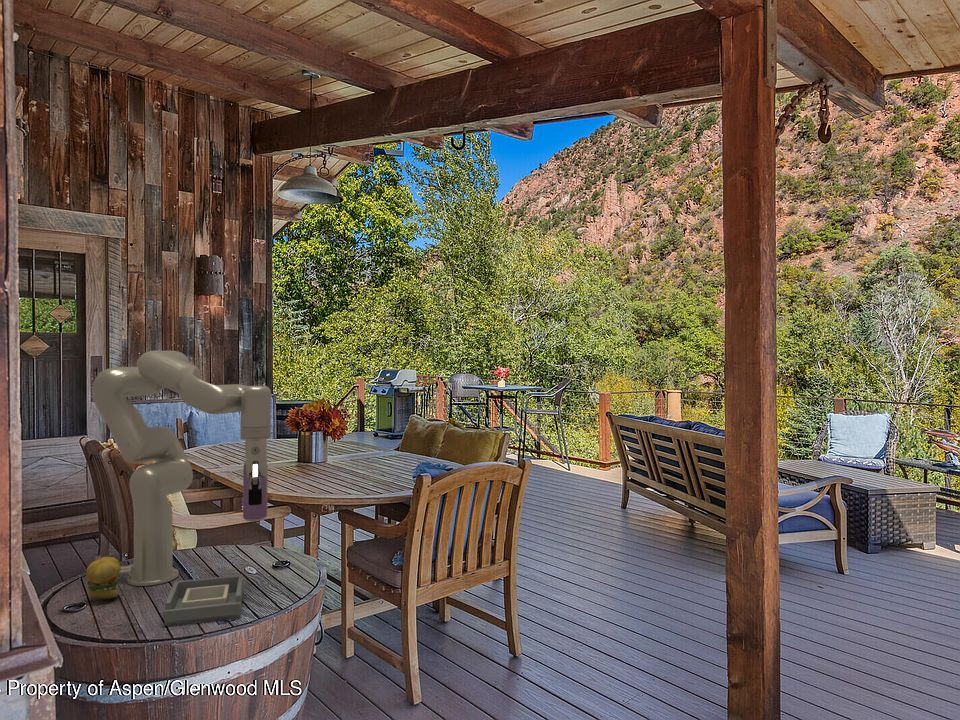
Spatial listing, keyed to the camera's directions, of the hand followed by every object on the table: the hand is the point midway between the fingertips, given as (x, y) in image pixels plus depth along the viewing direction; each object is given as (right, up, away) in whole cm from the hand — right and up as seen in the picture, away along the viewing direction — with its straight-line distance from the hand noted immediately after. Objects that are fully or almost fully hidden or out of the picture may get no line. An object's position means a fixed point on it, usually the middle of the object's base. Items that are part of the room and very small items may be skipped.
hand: (255, 501), depth 167 cm
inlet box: (-7, -23, -13) cm, 28 cm away
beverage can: (0, -5, 0) cm, 5 cm away
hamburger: (-35, -23, -7) cm, 43 cm away
